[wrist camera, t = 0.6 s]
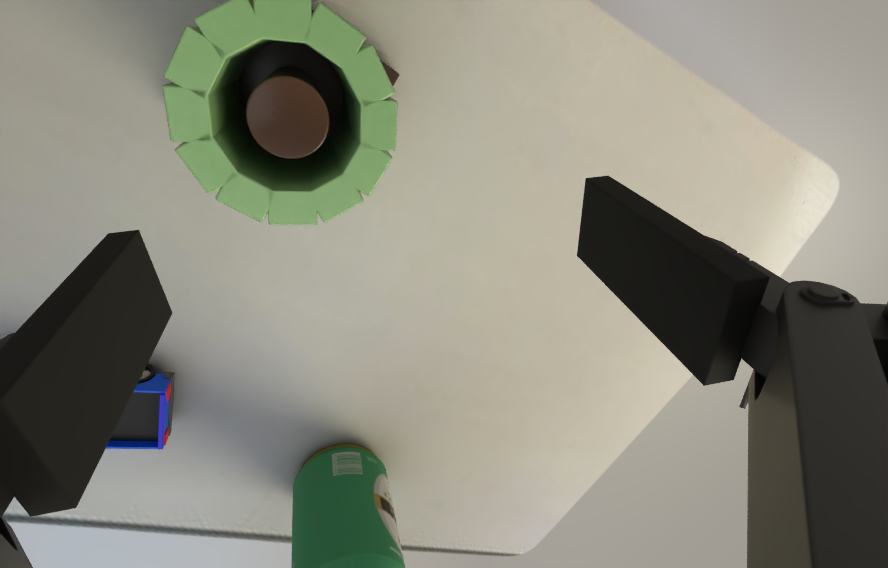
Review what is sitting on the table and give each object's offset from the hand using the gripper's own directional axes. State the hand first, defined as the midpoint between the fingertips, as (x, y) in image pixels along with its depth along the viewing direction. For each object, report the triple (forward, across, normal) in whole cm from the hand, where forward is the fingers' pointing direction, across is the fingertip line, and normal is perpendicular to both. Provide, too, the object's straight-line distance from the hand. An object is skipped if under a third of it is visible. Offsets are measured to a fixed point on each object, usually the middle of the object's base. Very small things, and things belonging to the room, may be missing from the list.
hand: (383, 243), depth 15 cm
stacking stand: (+18, -3, +2) cm, 19 cm away
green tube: (+17, -3, +2) cm, 17 cm away
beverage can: (+16, -6, -30) cm, 35 cm away
